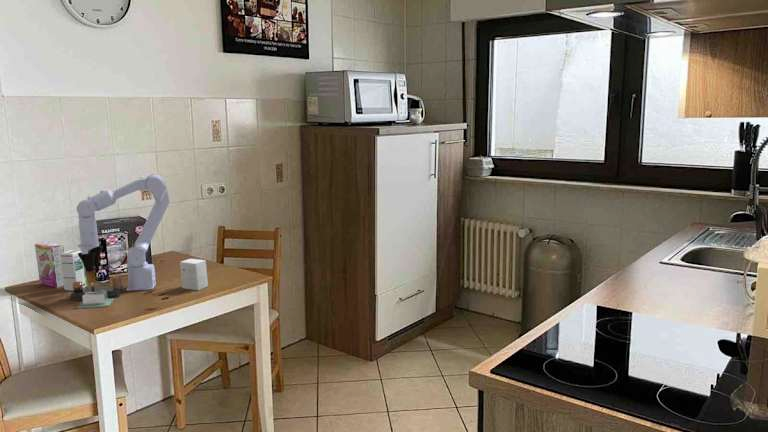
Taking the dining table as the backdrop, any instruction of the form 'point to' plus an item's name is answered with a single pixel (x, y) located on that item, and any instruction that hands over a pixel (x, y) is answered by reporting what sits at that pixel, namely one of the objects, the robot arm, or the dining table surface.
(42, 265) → the candy bar box
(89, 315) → the dining table surface
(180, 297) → the dining table surface
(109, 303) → the rubber mat
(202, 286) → the small box
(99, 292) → the lever cap
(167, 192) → the robot arm
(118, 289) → the plane body
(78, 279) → the syrup box
